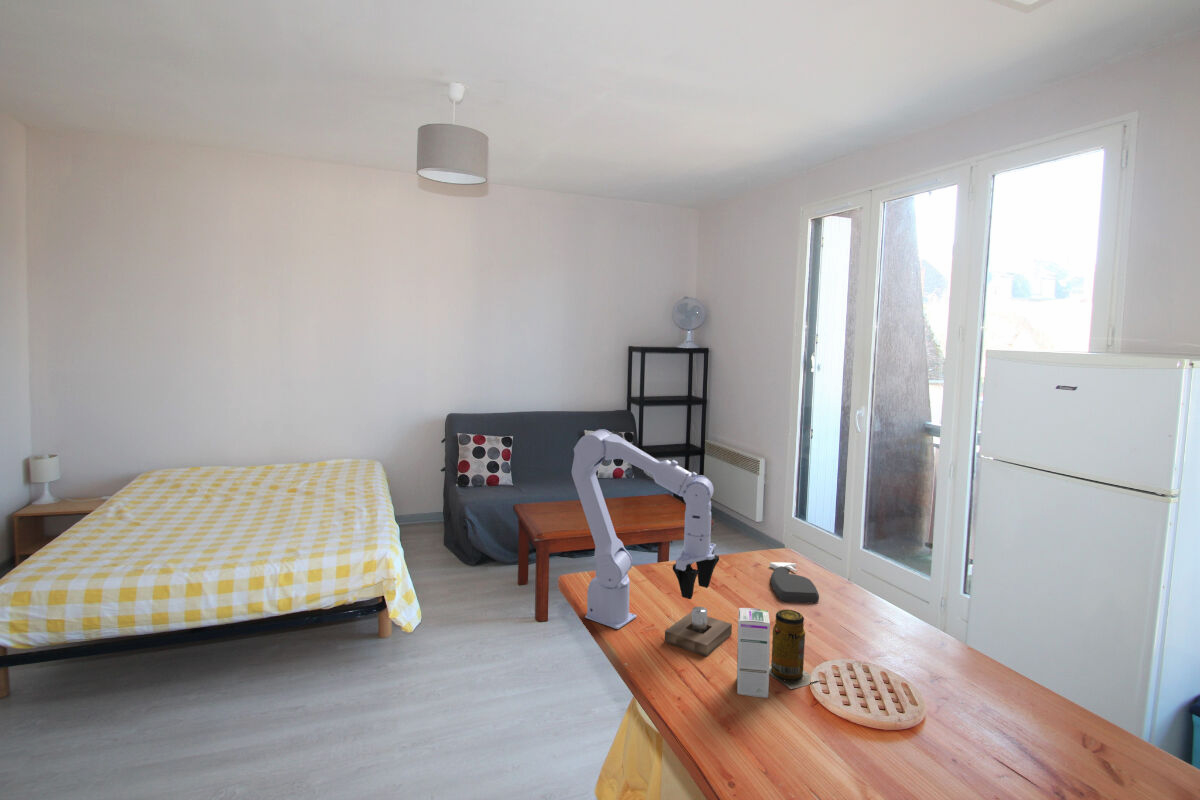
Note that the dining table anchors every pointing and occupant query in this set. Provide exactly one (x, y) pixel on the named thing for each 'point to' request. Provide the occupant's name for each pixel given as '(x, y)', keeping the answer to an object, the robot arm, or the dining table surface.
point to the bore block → (698, 635)
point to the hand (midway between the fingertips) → (695, 592)
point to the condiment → (789, 649)
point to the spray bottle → (792, 584)
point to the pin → (699, 619)
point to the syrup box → (753, 652)
